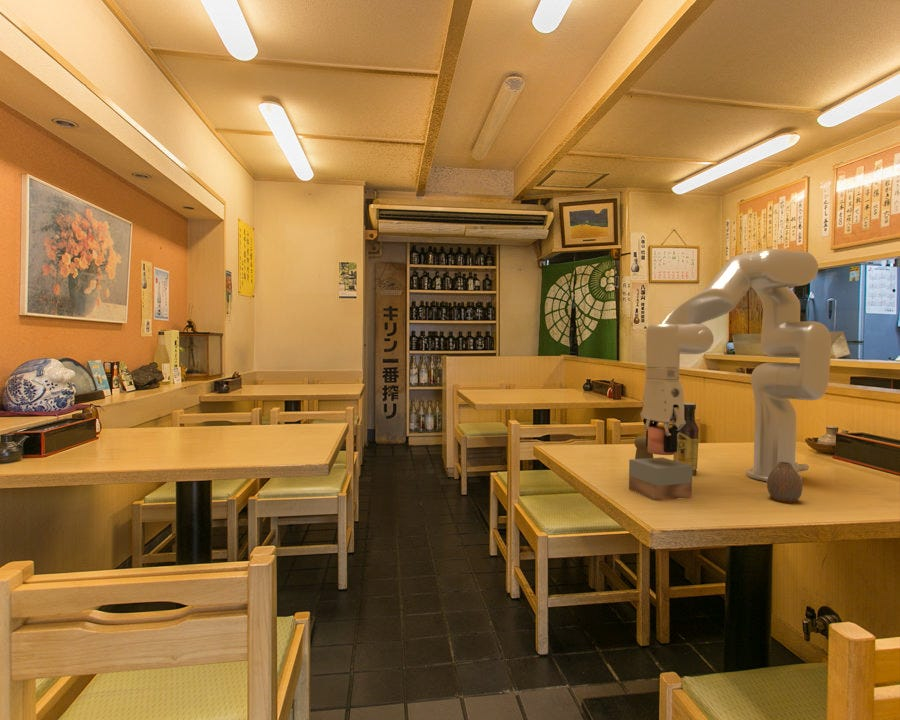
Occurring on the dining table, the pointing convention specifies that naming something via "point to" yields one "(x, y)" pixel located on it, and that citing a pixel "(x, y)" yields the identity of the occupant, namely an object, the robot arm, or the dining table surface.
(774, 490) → the brown egg-shaped piece
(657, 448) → the reddish pink cylinder
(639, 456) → the cork
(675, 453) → the sauce bottle
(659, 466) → the tower top block
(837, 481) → the dining table surface
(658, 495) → the tower bottom block
